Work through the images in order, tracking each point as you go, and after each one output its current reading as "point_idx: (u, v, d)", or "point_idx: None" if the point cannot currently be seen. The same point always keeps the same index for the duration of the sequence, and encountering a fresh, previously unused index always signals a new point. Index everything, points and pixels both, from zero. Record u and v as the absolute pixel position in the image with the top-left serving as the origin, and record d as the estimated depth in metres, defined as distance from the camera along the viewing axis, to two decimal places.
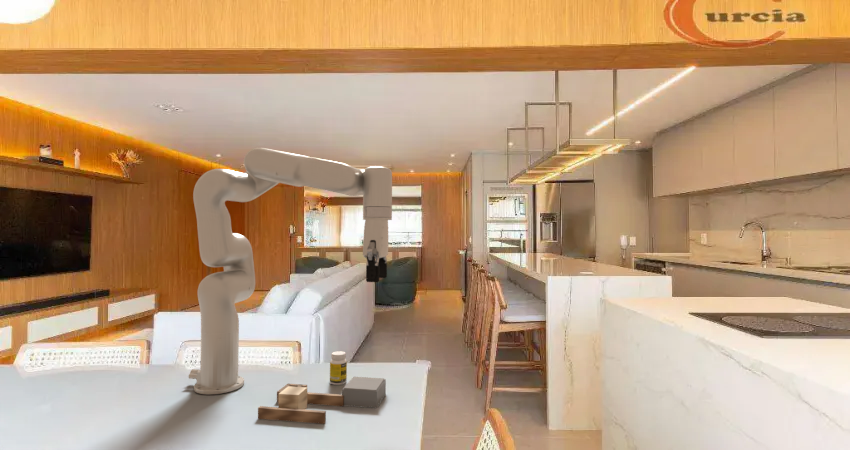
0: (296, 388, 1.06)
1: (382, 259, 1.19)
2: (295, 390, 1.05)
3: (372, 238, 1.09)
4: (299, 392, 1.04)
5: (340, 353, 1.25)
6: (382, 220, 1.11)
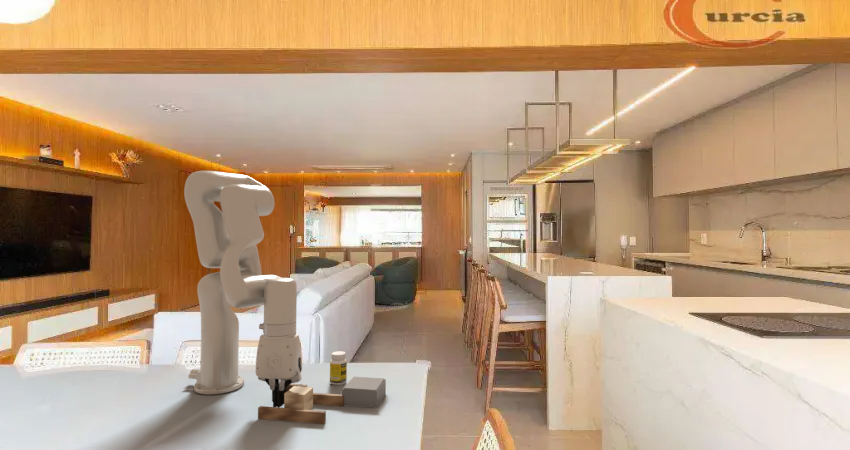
0: (302, 388, 1.06)
1: (275, 382, 1.06)
2: (301, 390, 1.05)
3: (298, 356, 1.05)
4: (305, 392, 1.04)
5: (340, 353, 1.25)
6: None
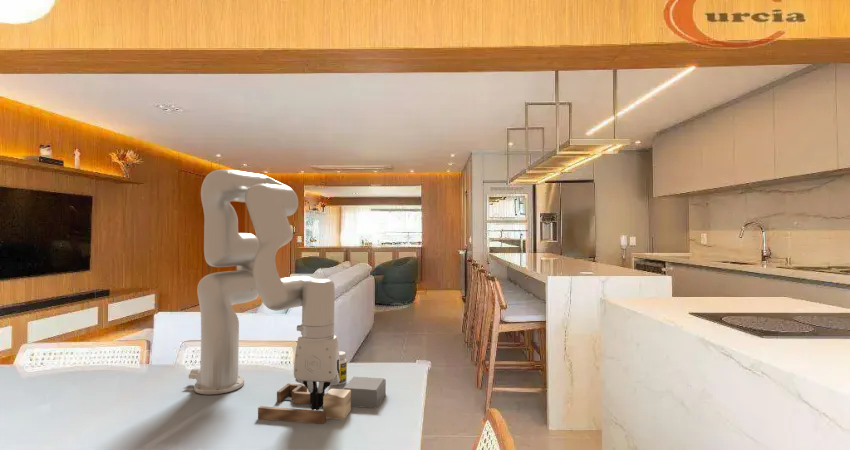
0: (340, 391, 1.05)
1: (313, 385, 1.05)
2: (339, 393, 1.04)
3: (337, 358, 1.04)
4: (344, 395, 1.02)
5: (340, 353, 1.25)
6: None
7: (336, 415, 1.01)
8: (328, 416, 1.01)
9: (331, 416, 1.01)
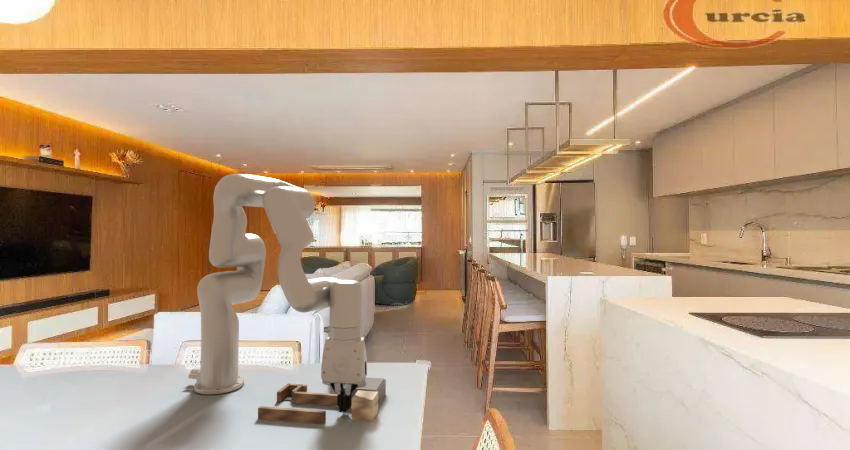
0: (367, 393, 1.04)
1: (340, 387, 1.04)
2: (367, 394, 1.03)
3: (365, 360, 1.03)
4: (372, 397, 1.02)
5: None
6: None
7: (364, 417, 1.00)
8: (356, 418, 1.00)
9: (359, 418, 1.00)
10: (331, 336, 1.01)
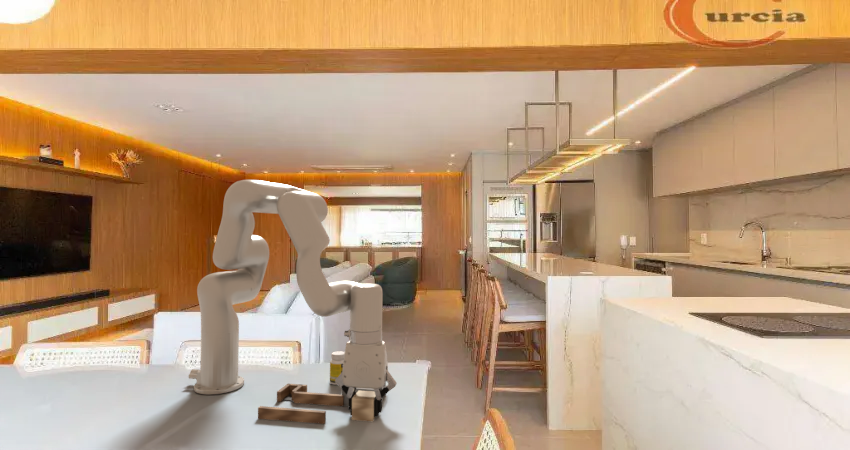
0: (368, 393, 1.04)
1: None
2: (368, 394, 1.03)
3: (386, 364, 1.02)
4: (372, 397, 1.02)
5: (340, 353, 1.25)
6: None
7: (365, 417, 1.00)
8: (357, 418, 1.00)
9: (360, 418, 1.00)
10: (352, 340, 1.00)
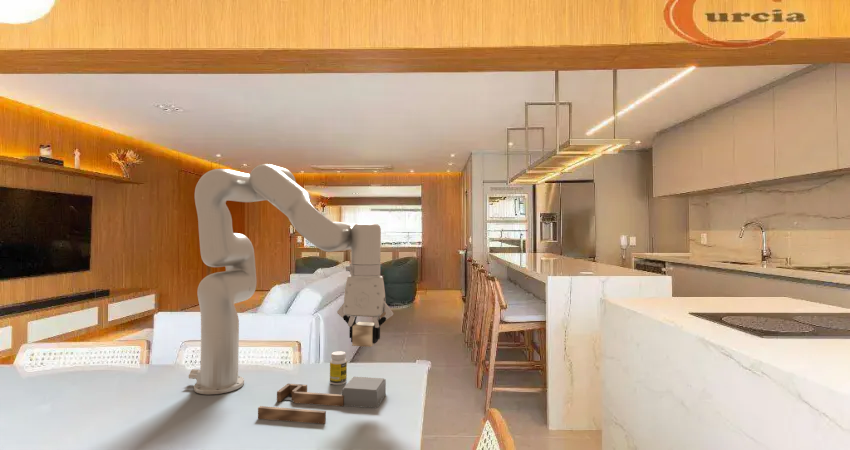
0: (367, 323, 1.14)
1: None
2: (367, 324, 1.13)
3: (384, 296, 1.12)
4: (371, 325, 1.11)
5: (340, 353, 1.25)
6: None
7: (364, 343, 1.10)
8: (357, 344, 1.10)
9: (360, 344, 1.10)
10: (353, 273, 1.10)
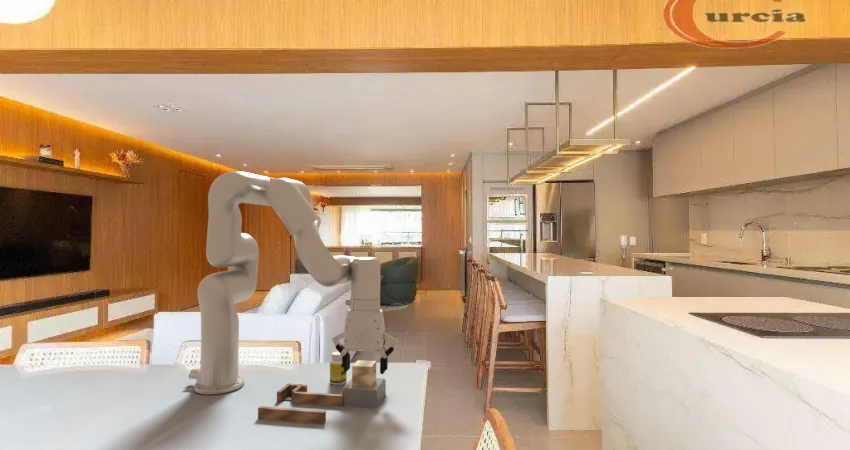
0: (366, 362, 1.14)
1: None
2: (366, 363, 1.13)
3: (383, 330, 1.12)
4: (371, 365, 1.11)
5: None
6: None
7: (364, 383, 1.10)
8: (356, 384, 1.10)
9: (359, 384, 1.10)
10: (353, 307, 1.10)
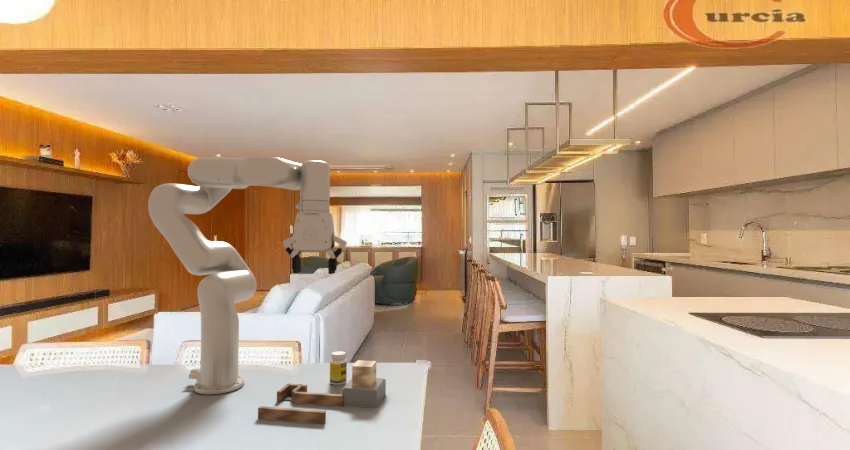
0: (366, 362, 1.14)
1: (296, 253, 1.16)
2: (366, 363, 1.13)
3: (332, 232, 1.14)
4: (371, 365, 1.11)
5: (340, 353, 1.25)
6: None
7: (364, 383, 1.10)
8: (356, 384, 1.10)
9: (359, 384, 1.10)
10: (301, 208, 1.13)
